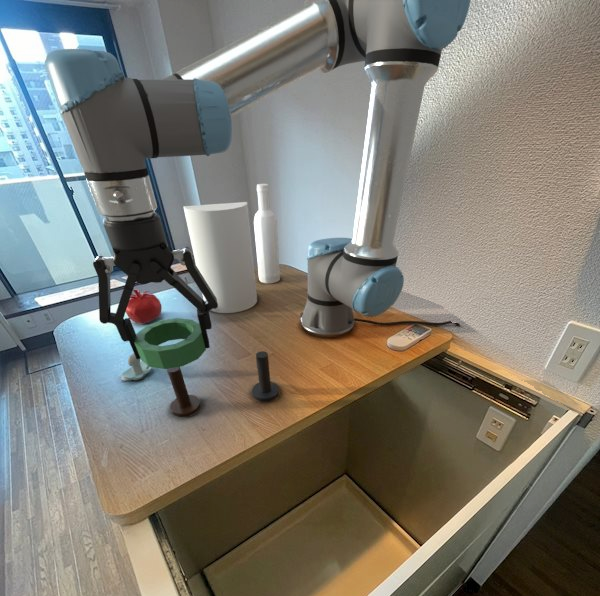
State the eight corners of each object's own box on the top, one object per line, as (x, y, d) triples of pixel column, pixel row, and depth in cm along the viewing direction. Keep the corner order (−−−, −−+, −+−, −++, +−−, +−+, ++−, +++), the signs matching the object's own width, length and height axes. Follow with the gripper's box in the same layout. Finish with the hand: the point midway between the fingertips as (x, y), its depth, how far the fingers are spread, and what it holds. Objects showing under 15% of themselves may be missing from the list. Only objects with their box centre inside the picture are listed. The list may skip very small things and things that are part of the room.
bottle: (281, 276, 124) (276, 182, 105) (278, 284, 118) (273, 186, 99) (261, 275, 125) (252, 182, 105) (257, 283, 119) (247, 186, 99)
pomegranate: (170, 317, 99) (162, 287, 93) (140, 330, 94) (129, 299, 87) (153, 308, 104) (143, 279, 98) (123, 319, 98) (111, 289, 92)
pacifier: (116, 381, 76) (135, 387, 73) (104, 358, 72) (124, 364, 69) (140, 364, 81) (158, 369, 78) (130, 342, 77) (149, 347, 74)
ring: (204, 331, 65) (199, 314, 62) (207, 362, 56) (202, 344, 54) (144, 340, 63) (138, 323, 60) (139, 373, 54) (131, 355, 52)
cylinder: (262, 308, 103) (252, 207, 85) (206, 316, 99) (184, 212, 81) (252, 288, 116) (242, 196, 97) (202, 294, 112) (182, 200, 94)
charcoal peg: (276, 382, 74) (273, 344, 68) (282, 399, 70) (279, 360, 63) (250, 387, 73) (244, 349, 67) (254, 404, 69) (249, 365, 62)
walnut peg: (200, 396, 71) (189, 357, 64) (201, 414, 67) (189, 374, 60) (171, 401, 70) (157, 362, 63) (170, 419, 65) (155, 380, 59)
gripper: (25, 228, 40) (100, 372, 54) (218, 213, 44) (241, 349, 59) (43, 215, 45) (108, 349, 60) (214, 202, 50) (236, 330, 64)
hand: (174, 349), depth 59 cm, fingers closed on ring, 11 cm apart
